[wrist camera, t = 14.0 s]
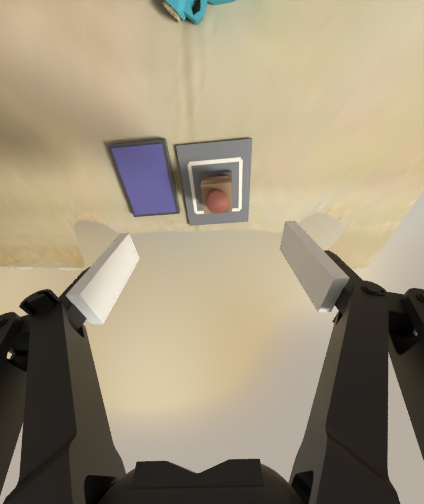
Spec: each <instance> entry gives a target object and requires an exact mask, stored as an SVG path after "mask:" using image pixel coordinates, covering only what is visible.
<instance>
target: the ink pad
mask: <svg viewBox="0 0 424 504" xmlns="http://www.w3.org/2000/svg"><path fill="white" fill-rule="evenodd" d="M108 148H109V151H110V153H111V156H112V159H113V161H114V164H115V167H116V170H117V172H118V175H119V178H120V180H121V183H122V186H123V188H124V191H125V194H126V196H127V199H128V202H129V204H130V207H131V210H132V213H133V215H134V217H140V216H153V215H167V214H179V213H180V207H179V202H178V197H177V192H176V187H175V182H174V177H173V172H172V167H171V162H170V157H169V152H168V147H167V142H166V139H162V140H151V141H141V142H131V143H121V144H111V145H108Z"/></svg>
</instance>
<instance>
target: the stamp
mask: <svg viewBox="0 0 424 504" xmlns="http://www.w3.org/2000/svg"><path fill="white" fill-rule="evenodd" d="M199 180H200V188H201V196H202V204H203V210H204V214H219V213H227V212H232V171H222V172H212V173H201V174H199Z"/></svg>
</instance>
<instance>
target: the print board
mask: <svg viewBox="0 0 424 504" xmlns="http://www.w3.org/2000/svg"><path fill="white" fill-rule="evenodd" d="M176 149H177V155H178V161H179V167H180V172H181V178H182V184H183V190H184V196H185V201H186V207H187V213H188V219H189V224H190V226H191V225H205V224H219V223H233V222H247V221H248V213H249V192H250V172H251V151H252V138H251V139H241V140H230V141H220V142H209V143H199V144H188V145H178V146H176ZM222 171H232V212H227V213H219V214H204V210H203V204H202V196H201V188H200V180H199V174H201V173H212V172H222Z"/></svg>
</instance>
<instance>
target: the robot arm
mask: <svg viewBox="0 0 424 504" xmlns="http://www.w3.org/2000/svg"><path fill="white" fill-rule="evenodd" d="M280 250H281V252H282V253H283V255H284V257H285V258H286V260H287V262H288V263H289V265H290V267H291V268H292V270H293V272H294V273H295V275H296V277H297V278H298V280H299V282H300V283H301V285H302V287H303V288H304V290H305V291H306V293H307V295H308V297H309V298H310V300H311V301H312V303H313V305H314V307H315V308H316V310H317V311H318V312H331V310H332V309H333V307H334V305H335V306H336V307H337V309H338V310H339V312H338V313H337V315H336V317H335V318H334V320H333V322H334V327H333V331H332V334H331V338H330V342H329V346H328V349H327V353H326V357H325V360H324V364H323V368H322V372H321V375H320V379H319V383H318V387H317V391H316V394H315V398H314V401H313V405H312V409H311V413H310V416H309V420H308V424H307V428H306V431H305V435H304V438H303V442H302V444H301V446H300V449H299V451H298V453H297V456H296V459H295V462H294V465H293V469H292V472H291V476H290V480H289V483H288V482H287V481H286V480H285V479H284V478H283V477H282V476H280V475H279V474H278V473H277V472H275V471H274V470H272V469H271V468H269V467H267V466H265V465H263V464H261V463H260V459H232V460H227V461H225V462H223V463H220V464H218V465H216V466H214V467H212V468H210V469H207V470H205V471H203V472H201V473H195V472H192V471H190V470H188V469H185V468H183V467H181V466H178V465H176V464H173V463H170V462H168V461H145V462H137V463H136V467H135V469H133V470H132V471H130V472H129V473H127V474H126V472H125V469H124V465H123V462H122V460H121V457H120V456H119V454H118V452H117V451H116V449H115V447H114V444H113V441H112V437H111V432H110V428H109V424H108V420H107V416H106V411H105V407H104V403H103V399H102V395H101V391H100V387H99V382H98V378H97V374H96V369H95V365H94V361H93V357H92V353H91V349H90V344H89V340H88V336H87V332H86V328H85V326H84V325H83V323H84V322H85V320H86V319H87V320H88V321H89V322H90V324H91V325H92V324H103V323H104V321H105V319H106V318H107V316H108V314H109V313H110V311H111V309H112V307H113V305H114V304H115V302H116V300H117V298H118V296H119V295H120V293H121V291H122V289H123V288H124V286H125V284H126V282H127V280H128V279H129V277H130V275H131V273H132V271H133V270H134V268H135V266H136V264H137V262H138V261H139V259H140V258H139V256H138V254H137V251H136V249H135V246H134V244H133V242H132V239H131V237H130V234H129V233H124V234H120V235H119V236H118V237H117V238H116V239H115V240H114V242H113V243H112V244H111V245H110V246H109V247H108V248H107V249H106V250H105V252H104V253H103V254H102V255H101V256H100V257H99V258H98V259H97V260H96V262H95V263H94V264H93V265H92V266H91V267H89V268H87V269H86V270H85V271H83V272H82V273H81V274H80V275H79V276H78V277H77V279H75V280H74V281H73V283H72V284H71V285H70V286H69V287H68V288H67V289H66V290H65V291H64V292H63V293H62V295H61V296H60V297H59V298H58V297H57V296H56V295H55V294H54V293H53V292H52V291H51V290H48V289H46V290H41V291H38V292H36V293H34V294H32V295H30V296H28V297H27V298H26V299H24V300H23V301H22V302H21V304H20V306H19V307H20V308H21V309H23V310H24V311H25V312H26V313H27V314H29V315H26V316H22V317H20V316H18V315H17V314H16V313H14V312H9V313H5V314H3V315H0V494H1V491H2V488H3V485H4V481H5V478H6V475H7V472H8V469H9V465H10V462H11V459H12V456H13V453H14V449H15V446H16V443H17V440H18V437H19V433H20V430H21V427H22V424H23V435H22V449H21V463H20V477H19V481H18V483H17V486H16V488H15V489H14V490H13V491H12V492H11V493H10V494H9V495H8V496H7V497H6V499H5V501H4V503H3V504H400V502H399V498H398V495H397V492H396V490H395V489H394V487H393V485H392V484H391V482H390V480H389V477H388V470H387V449H388V447H387V446H388V445H387V444H388V443H387V442H388V441H387V440H388V438H387V437H388V352H389V355H390V358H391V361H392V364H393V367H394V370H395V373H396V377H397V379H398V382H399V386H400V389H401V392H402V395H403V398H404V401H405V404H406V407H407V410H408V413H409V416H410V420H411V423H412V426H413V429H414V432H415V435H416V438H417V441H418V444H419V447H420V450H421V454H422V457H423V460H424V290H423V289H417V288H412V289H409V290H408V291H407V292H406V293H405V294H404V295H403V294H397V293H391V292H386V290H385V289H384V288H382V287H381V286H379V285H377V284H375V283H373V282H369V281H363V280H362V279H361V278H360V277H359V276H358V275H357V274H356V273H355V272H354V271H353V270H352V269H351V268H350V267H348V266H347V265H346V264H345V263H344V262H343V261H342V260H341V259H340V258H339V257H338V256H337V255H336V254H334V253H332V252H330V251H329V250H328V251H323V250H322V249H321V248H320V247H319V246H318V245H317V244H316V242H315V241H313V239H312V238H311V237H310V236H309V235H308V234H307V233H306V232H305V231H304V230H303V229H302V228H301V227H300V226H299V225H298V224H297V223H296V222H295V221H286V222H285V225H284V231H283V236H282V241H281V246H280ZM8 352H10V353H12V356H11V358H10V359H7V353H8Z"/></svg>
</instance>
